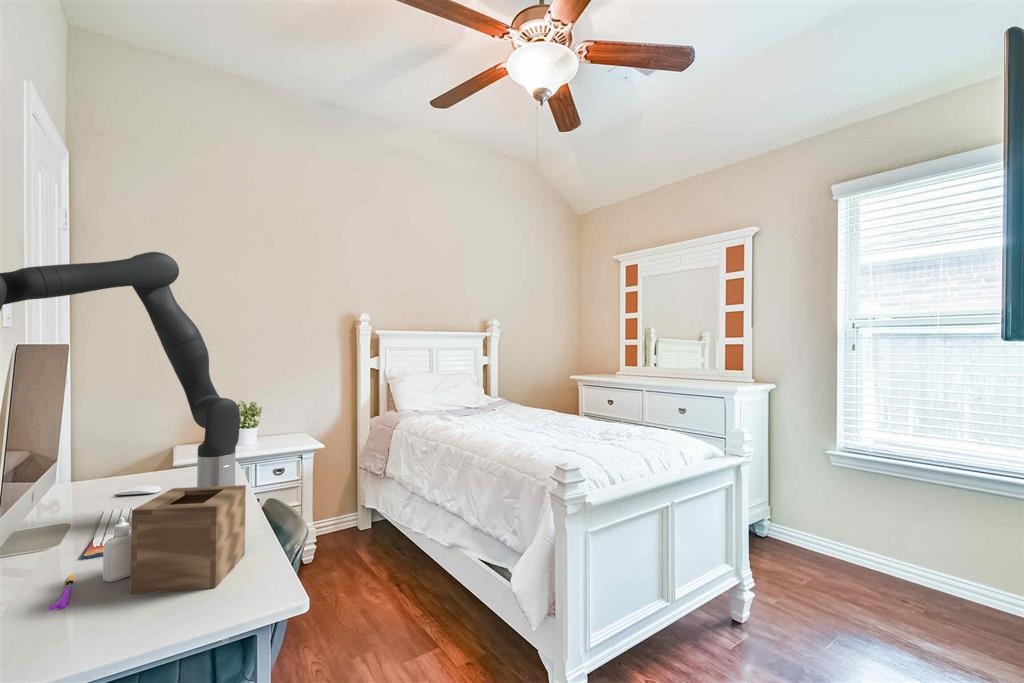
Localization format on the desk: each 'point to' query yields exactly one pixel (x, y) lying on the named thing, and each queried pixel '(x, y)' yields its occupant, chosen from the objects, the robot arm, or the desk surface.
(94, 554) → the smartphone
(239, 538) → the box
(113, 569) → the eye dropper bottle
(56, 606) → the linear piston actuator
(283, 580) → the desk surface
